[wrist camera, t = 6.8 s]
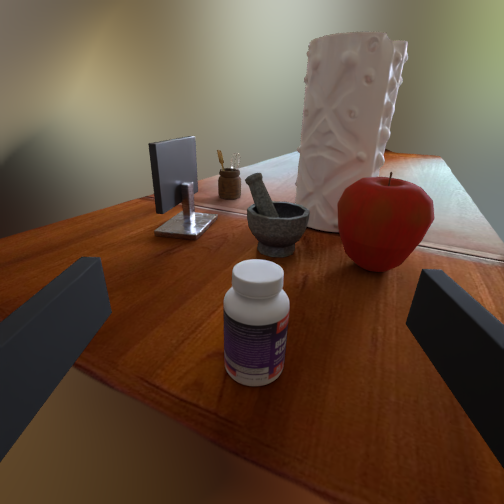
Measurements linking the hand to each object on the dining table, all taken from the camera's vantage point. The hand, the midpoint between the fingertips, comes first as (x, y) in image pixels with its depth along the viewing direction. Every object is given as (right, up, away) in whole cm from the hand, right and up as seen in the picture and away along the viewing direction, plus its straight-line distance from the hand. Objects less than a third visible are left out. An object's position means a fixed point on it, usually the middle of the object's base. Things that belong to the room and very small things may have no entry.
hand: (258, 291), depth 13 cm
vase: (+17, +8, +52) cm, 55 cm away
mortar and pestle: (+3, +2, +38) cm, 38 cm away
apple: (+18, -1, +33) cm, 37 cm away
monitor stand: (-13, +7, +46) cm, 48 cm away
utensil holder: (-6, +16, +67) cm, 69 cm away
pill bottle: (0, -9, +15) cm, 17 cm away
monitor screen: (-14, +11, +44) cm, 48 cm away
